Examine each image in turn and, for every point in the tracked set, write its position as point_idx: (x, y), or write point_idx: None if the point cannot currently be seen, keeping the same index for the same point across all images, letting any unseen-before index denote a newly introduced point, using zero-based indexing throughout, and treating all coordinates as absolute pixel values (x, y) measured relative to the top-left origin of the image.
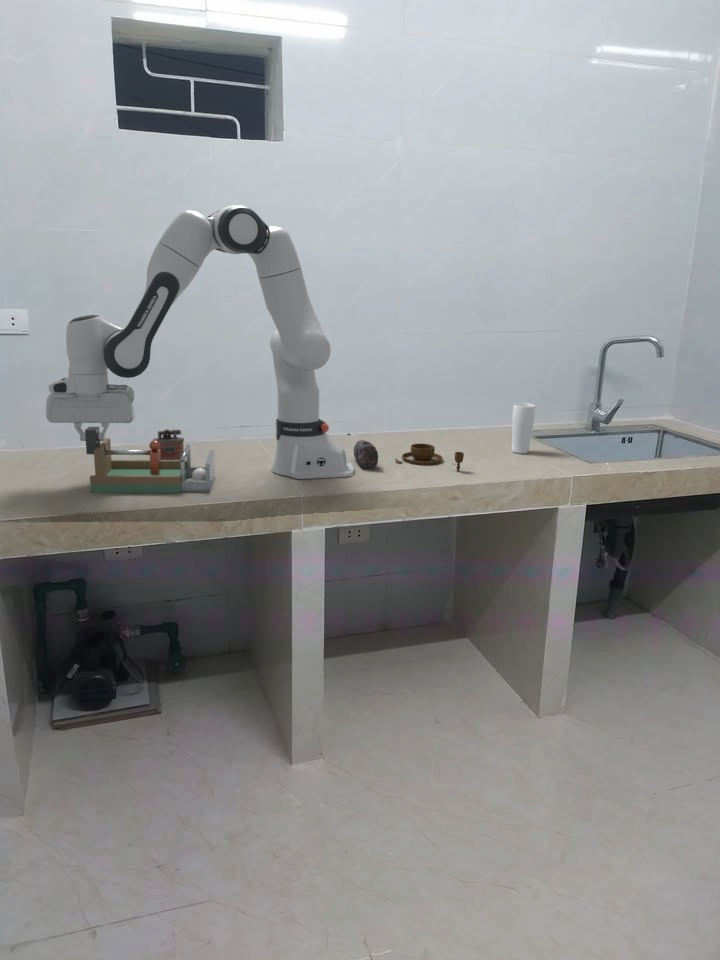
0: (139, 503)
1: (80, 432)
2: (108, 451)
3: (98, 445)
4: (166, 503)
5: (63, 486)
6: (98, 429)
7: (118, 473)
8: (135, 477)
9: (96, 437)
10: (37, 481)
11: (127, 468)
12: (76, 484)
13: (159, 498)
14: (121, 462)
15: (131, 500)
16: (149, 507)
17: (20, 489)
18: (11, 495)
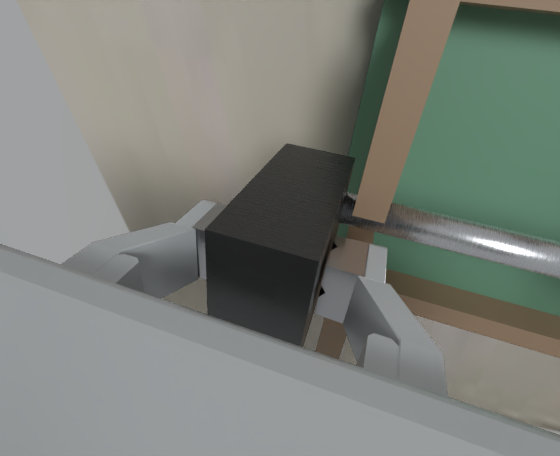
0: (466, 373)
1: (179, 281)
2: (403, 237)
3: (334, 235)
4: (552, 401)
5: (230, 155)
6: (315, 285)
7: (454, 131)
8: (498, 337)
9: (312, 313)
10: (127, 67)
11: (542, 13)
12: (269, 137)
13: (549, 361)
14: (512, 7)
15: (448, 346)
16: (485, 405)
17: (120, 161)
18: (125, 212)
